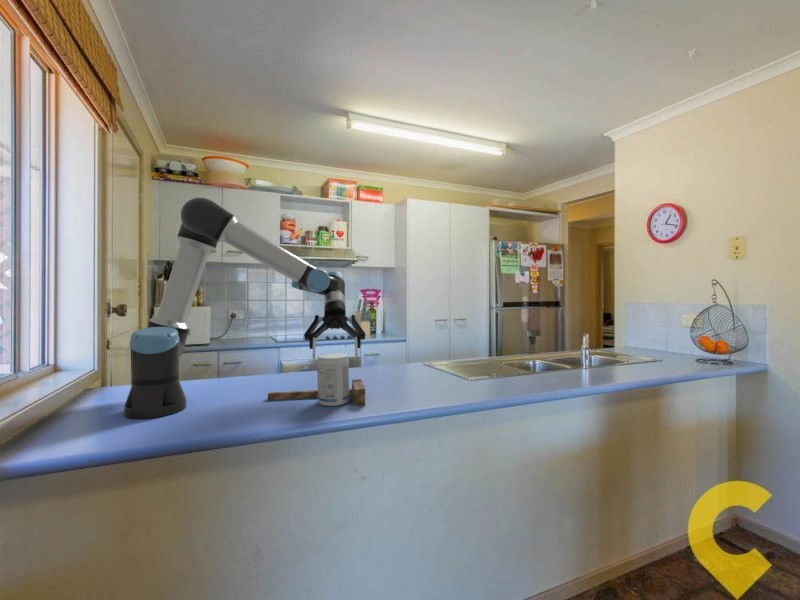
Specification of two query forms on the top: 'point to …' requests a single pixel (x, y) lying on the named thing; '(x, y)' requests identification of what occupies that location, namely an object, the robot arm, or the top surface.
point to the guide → (356, 392)
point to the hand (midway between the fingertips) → (335, 355)
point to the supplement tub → (333, 379)
